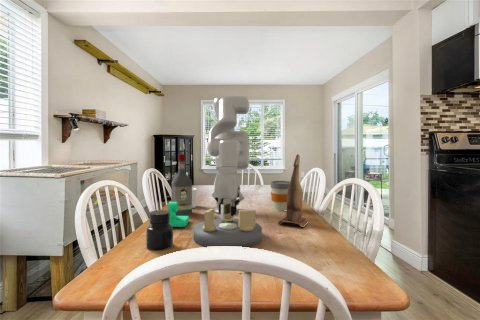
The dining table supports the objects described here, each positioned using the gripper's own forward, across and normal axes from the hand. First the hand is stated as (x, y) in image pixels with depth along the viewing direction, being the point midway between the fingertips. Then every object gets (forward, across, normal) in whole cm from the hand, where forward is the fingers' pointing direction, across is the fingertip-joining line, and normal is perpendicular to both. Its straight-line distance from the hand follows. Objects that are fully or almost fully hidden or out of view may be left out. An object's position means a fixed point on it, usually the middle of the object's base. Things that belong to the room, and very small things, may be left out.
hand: (227, 214), depth 122 cm
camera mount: (+8, -23, -2) cm, 25 cm away
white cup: (+7, -40, +30) cm, 50 cm away
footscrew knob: (+3, 0, 0) cm, 3 cm away
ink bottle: (+7, -12, -26) cm, 30 cm away
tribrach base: (+7, +4, -7) cm, 11 cm away
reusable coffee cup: (+7, +7, +49) cm, 50 cm away
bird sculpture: (+7, +21, +24) cm, 33 cm away
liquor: (+7, -34, +15) cm, 38 cm away
